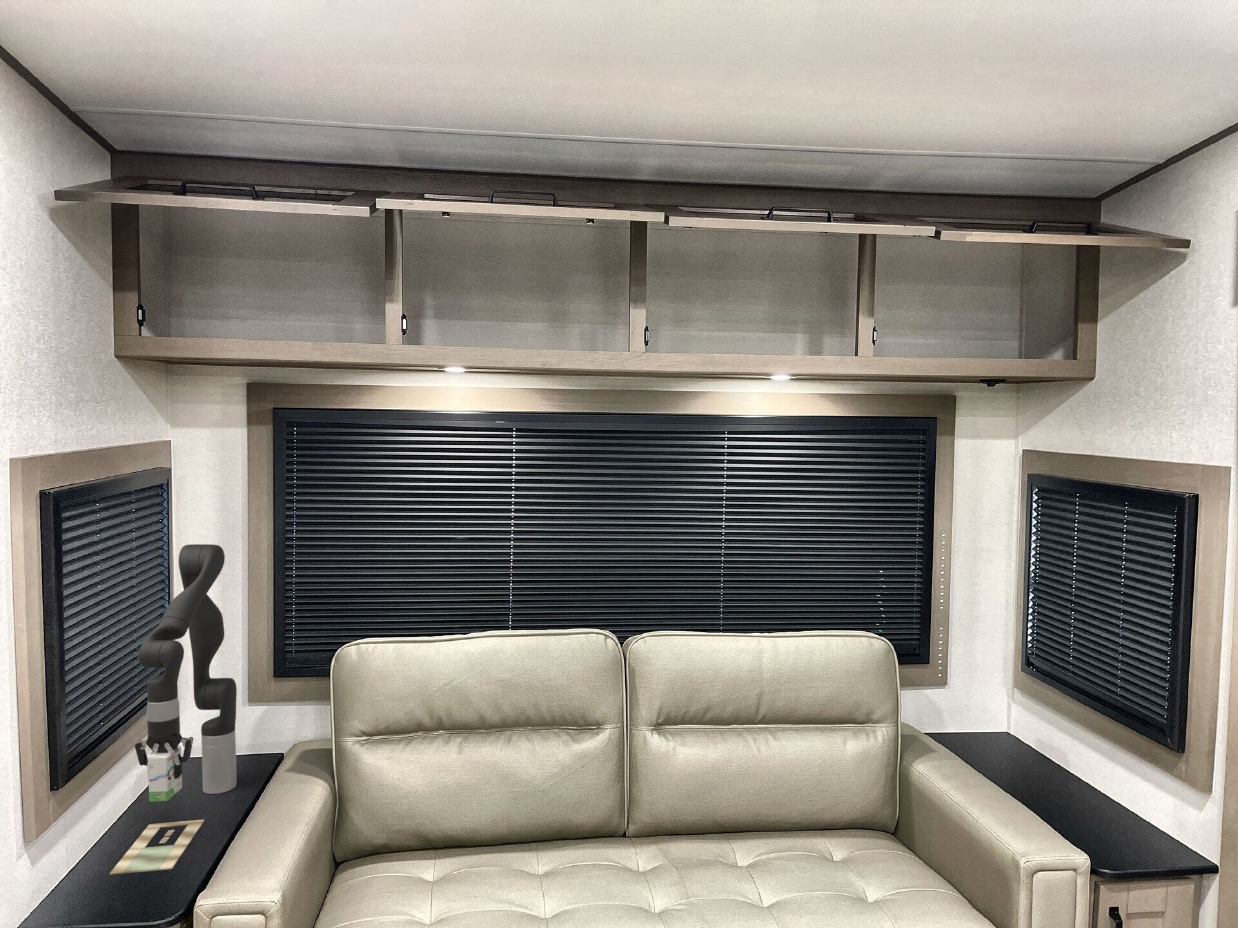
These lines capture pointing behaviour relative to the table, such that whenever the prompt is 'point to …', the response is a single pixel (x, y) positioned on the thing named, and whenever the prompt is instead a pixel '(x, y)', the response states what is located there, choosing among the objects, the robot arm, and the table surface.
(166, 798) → the ink box
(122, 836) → the table surface
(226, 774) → the robot arm
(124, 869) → the beige rectangular frame
